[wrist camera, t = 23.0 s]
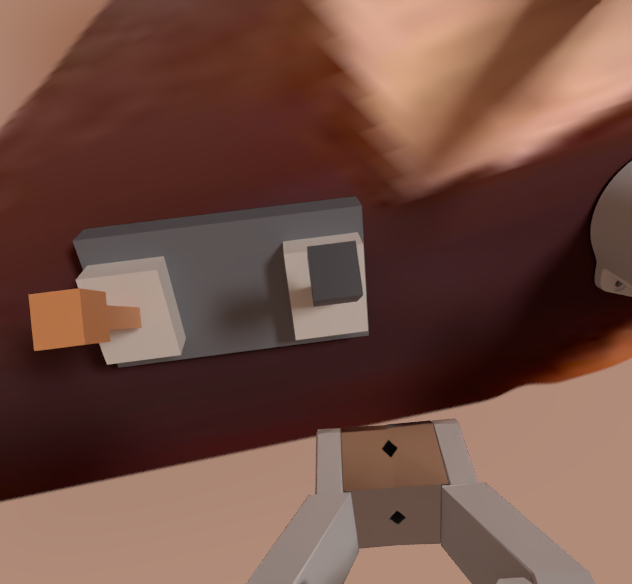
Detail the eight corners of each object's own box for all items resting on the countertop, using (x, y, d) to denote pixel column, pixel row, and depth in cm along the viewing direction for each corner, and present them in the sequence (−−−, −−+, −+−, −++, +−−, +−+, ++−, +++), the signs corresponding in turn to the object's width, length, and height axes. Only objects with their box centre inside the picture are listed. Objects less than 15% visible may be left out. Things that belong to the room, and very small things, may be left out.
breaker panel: (356, 196, 46) (367, 216, 41) (363, 320, 53) (374, 351, 47) (84, 229, 45) (59, 254, 40) (125, 350, 52) (109, 386, 47)
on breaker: (342, 271, 43) (355, 240, 31) (348, 311, 43) (363, 294, 31) (307, 275, 43) (306, 246, 31) (312, 315, 43) (313, 301, 31)
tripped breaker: (143, 296, 43) (79, 288, 31) (147, 337, 42) (85, 344, 30) (106, 301, 43) (28, 294, 31) (110, 341, 42) (34, 351, 30)
